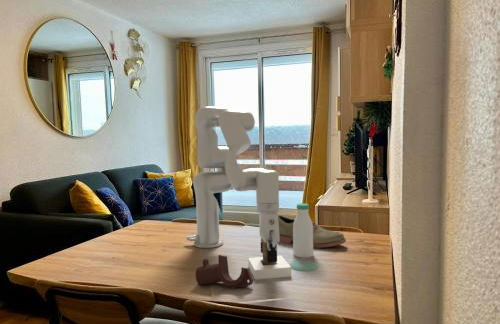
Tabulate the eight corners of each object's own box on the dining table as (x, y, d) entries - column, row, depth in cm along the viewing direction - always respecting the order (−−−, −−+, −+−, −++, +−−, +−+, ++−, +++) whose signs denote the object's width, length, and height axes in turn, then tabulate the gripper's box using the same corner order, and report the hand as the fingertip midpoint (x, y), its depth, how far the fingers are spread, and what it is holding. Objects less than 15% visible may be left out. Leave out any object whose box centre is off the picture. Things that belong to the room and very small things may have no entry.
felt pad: (294, 273, 118) (294, 272, 118) (285, 263, 128) (285, 261, 128) (322, 271, 120) (322, 269, 120) (312, 261, 129) (312, 259, 129)
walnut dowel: (264, 273, 117) (263, 241, 116) (261, 269, 121) (261, 237, 120) (276, 272, 118) (275, 240, 117) (273, 268, 122) (272, 237, 121)
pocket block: (255, 281, 112) (254, 270, 112) (248, 267, 124) (248, 258, 124) (291, 277, 114) (291, 267, 114) (281, 264, 126) (281, 255, 126)
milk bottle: (313, 259, 132) (312, 206, 130) (292, 258, 133) (291, 206, 132) (313, 252, 139) (313, 202, 138) (294, 251, 141) (293, 202, 139)
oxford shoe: (342, 252, 140) (342, 222, 139) (269, 243, 154) (268, 216, 153) (348, 244, 150) (348, 216, 149) (278, 236, 164) (278, 211, 163)
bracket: (250, 285, 103) (245, 250, 106) (196, 292, 106) (193, 259, 110) (255, 284, 108) (251, 251, 112) (204, 292, 112) (201, 260, 116)
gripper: (285, 211, 110) (286, 265, 111) (272, 202, 127) (273, 248, 128) (262, 212, 109) (263, 267, 110) (252, 203, 126) (253, 250, 127)
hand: (268, 257), depth 119 cm, fingers open, 9 cm apart
